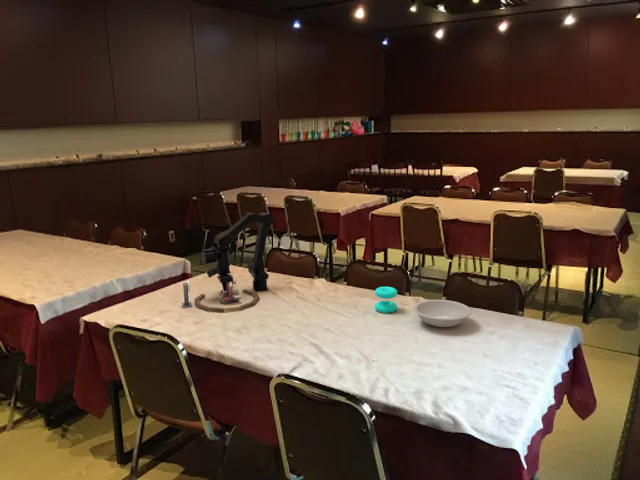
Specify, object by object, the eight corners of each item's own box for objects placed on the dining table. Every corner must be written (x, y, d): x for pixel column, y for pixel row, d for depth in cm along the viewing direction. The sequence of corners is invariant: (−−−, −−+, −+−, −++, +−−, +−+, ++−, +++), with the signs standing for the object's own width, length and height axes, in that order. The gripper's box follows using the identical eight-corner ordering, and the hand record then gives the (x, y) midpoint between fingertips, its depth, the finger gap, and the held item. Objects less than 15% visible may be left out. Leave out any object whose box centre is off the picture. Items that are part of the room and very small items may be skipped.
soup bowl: (472, 336, 218) (473, 321, 216) (411, 332, 222) (412, 317, 221) (468, 315, 241) (469, 301, 239) (413, 312, 245) (414, 298, 244)
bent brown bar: (253, 290, 278) (253, 288, 277) (264, 307, 254) (264, 304, 253) (193, 297, 268) (192, 294, 268) (199, 315, 244) (198, 312, 244)
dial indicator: (190, 303, 260) (188, 278, 257) (191, 307, 255) (189, 281, 253) (182, 304, 259) (180, 279, 256) (183, 308, 254) (181, 282, 251)
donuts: (375, 292, 242) (375, 285, 251) (374, 313, 244) (374, 306, 254) (397, 292, 241) (396, 285, 250) (397, 314, 243) (396, 306, 253)
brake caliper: (212, 294, 265) (226, 274, 265) (231, 305, 269) (245, 285, 269) (216, 302, 255) (230, 280, 255) (235, 313, 259) (250, 292, 259)
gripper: (204, 257, 271) (205, 287, 274) (208, 267, 253) (210, 299, 257) (226, 255, 274) (228, 284, 278) (232, 264, 257) (234, 296, 260)
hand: (224, 291), depth 268 cm, fingers closed
